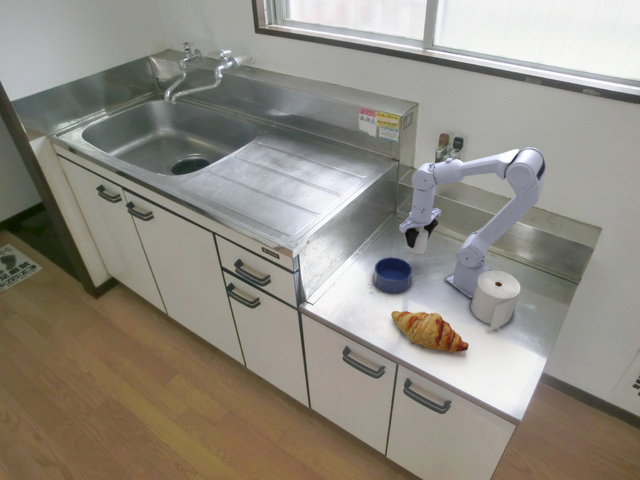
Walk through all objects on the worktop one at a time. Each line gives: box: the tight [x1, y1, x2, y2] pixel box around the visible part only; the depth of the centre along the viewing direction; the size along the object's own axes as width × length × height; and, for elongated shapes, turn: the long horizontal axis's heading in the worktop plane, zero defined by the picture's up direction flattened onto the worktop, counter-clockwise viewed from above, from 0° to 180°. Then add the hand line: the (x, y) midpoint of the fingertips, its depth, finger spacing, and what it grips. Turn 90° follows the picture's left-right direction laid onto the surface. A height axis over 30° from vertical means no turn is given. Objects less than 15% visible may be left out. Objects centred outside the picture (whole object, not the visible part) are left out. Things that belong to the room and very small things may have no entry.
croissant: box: [390, 310, 470, 353], centre depth 116 cm, size 21×10×8 cm, turn 55°
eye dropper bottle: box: [406, 226, 429, 256], centre depth 134 cm, size 4×6×12 cm
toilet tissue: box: [470, 269, 521, 332], centre depth 120 cm, size 11×12×10 cm
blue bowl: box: [373, 256, 413, 294], centre depth 133 cm, size 10×10×5 cm
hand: (417, 242), depth 135 cm, fingers closed on eye dropper bottle, 5 cm apart
